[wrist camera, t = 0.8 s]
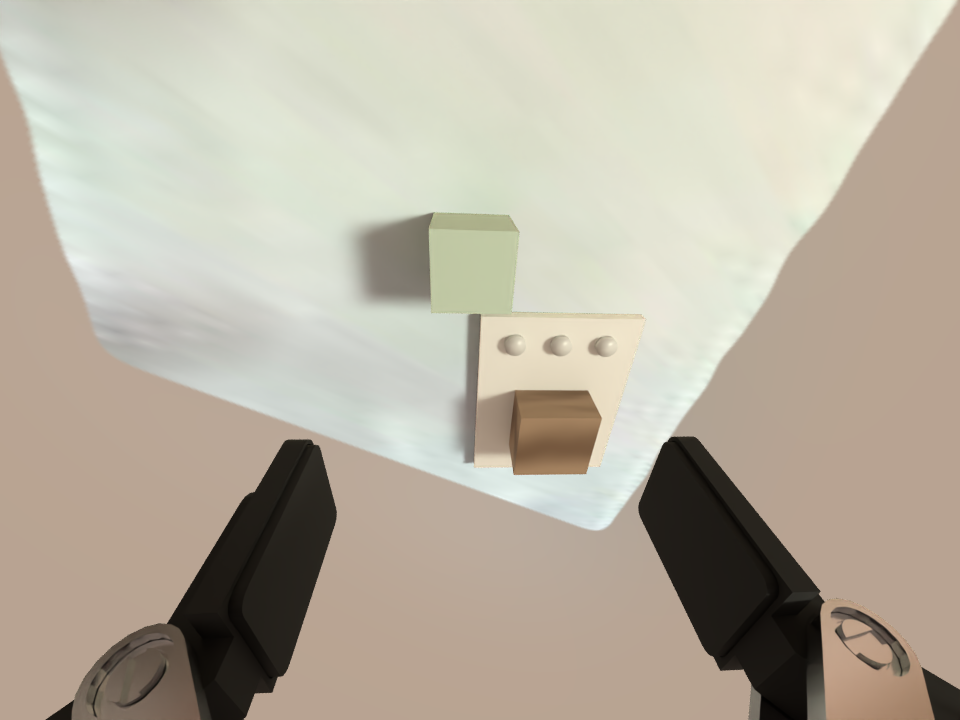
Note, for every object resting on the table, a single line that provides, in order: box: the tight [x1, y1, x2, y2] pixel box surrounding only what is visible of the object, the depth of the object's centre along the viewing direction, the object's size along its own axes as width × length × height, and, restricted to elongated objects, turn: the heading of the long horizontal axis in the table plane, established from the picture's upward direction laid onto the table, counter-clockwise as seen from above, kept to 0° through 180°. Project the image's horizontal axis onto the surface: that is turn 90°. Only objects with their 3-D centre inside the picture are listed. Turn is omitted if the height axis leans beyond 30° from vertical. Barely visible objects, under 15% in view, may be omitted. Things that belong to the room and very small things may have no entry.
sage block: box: [429, 212, 519, 314], centre depth 26 cm, size 6×6×6 cm
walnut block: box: [509, 390, 602, 475], centre depth 34 cm, size 7×7×4 cm
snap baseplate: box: [474, 312, 646, 468], centre depth 35 cm, size 18×14×2 cm
